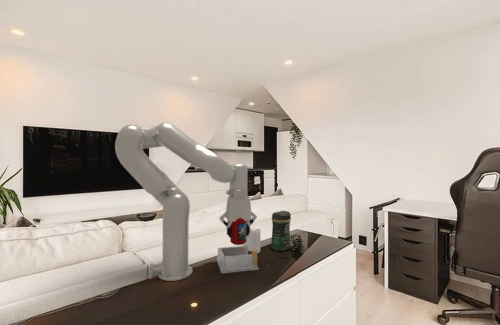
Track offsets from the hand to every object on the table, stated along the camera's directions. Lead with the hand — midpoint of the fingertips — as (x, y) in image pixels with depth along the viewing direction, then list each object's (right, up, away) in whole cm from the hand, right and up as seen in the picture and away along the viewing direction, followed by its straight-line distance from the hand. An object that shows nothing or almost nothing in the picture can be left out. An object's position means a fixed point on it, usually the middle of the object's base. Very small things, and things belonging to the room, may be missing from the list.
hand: (238, 235), depth 107 cm
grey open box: (0, -12, 0) cm, 12 cm away
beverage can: (0, -3, 0) cm, 3 cm away
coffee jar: (+20, -12, +20) cm, 31 cm away
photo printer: (+6, -12, +17) cm, 22 cm away
